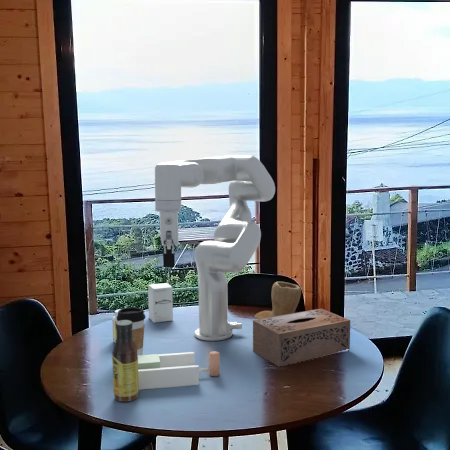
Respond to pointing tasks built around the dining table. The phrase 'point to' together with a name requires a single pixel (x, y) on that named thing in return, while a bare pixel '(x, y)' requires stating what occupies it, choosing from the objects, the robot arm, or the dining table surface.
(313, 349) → the tissue box cover
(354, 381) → the dining table surface
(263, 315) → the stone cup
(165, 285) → the supplement box
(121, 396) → the sauce bottle
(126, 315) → the coffee cup
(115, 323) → the supplement bottle
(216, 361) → the sliding handle
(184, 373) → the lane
